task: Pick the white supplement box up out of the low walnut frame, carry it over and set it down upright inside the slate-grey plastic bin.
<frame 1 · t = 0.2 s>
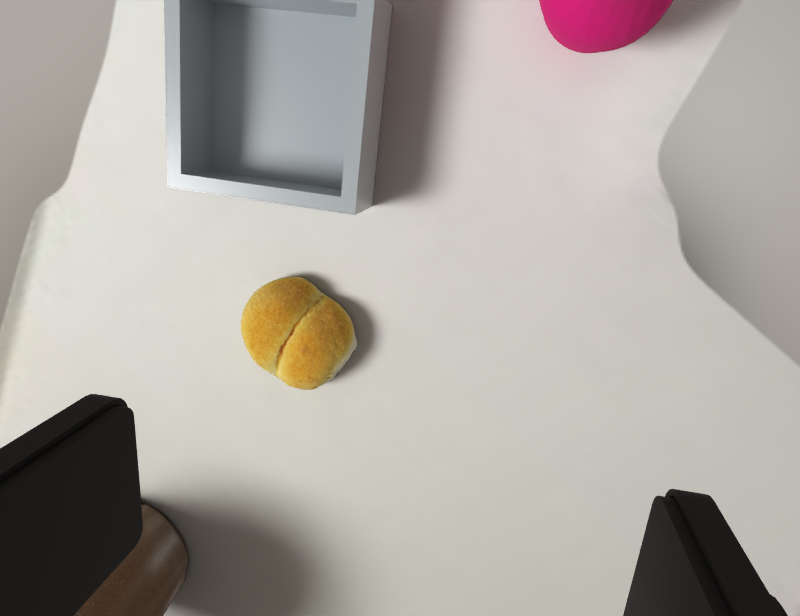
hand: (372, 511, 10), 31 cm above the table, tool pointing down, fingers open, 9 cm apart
plant pot: (133, 546, 54), on the table
grey bin: (291, 100, 38), on the table
bread roll: (306, 328, 44), on the table
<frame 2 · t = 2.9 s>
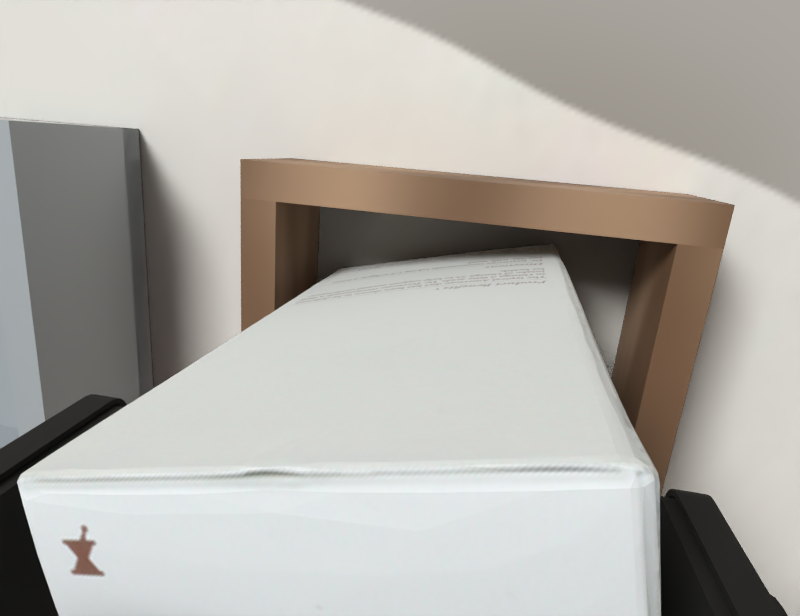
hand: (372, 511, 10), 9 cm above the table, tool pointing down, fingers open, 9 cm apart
supplement box: (458, 358, 18), resting in walnut frame
walnut frame: (456, 357, 18), on the table
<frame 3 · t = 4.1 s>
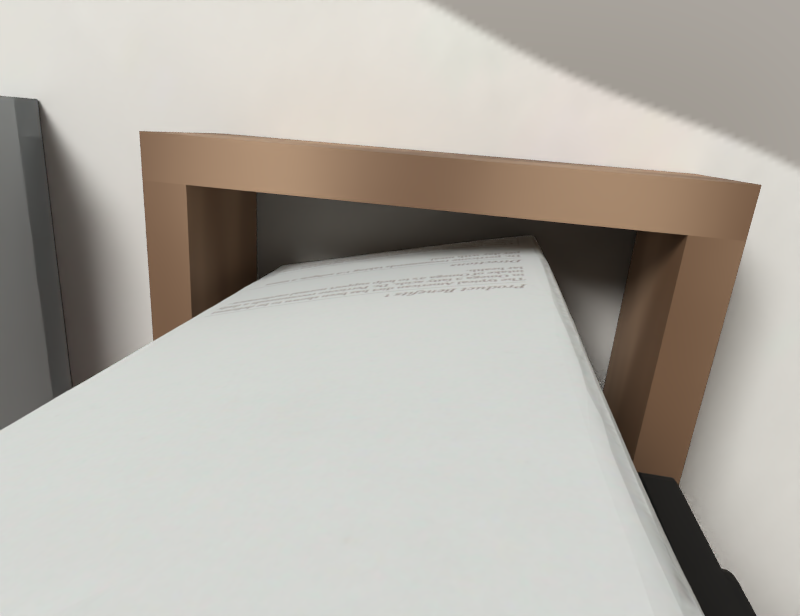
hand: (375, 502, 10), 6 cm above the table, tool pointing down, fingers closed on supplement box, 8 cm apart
supplement box: (424, 369, 16), resting in walnut frame, touching gripper
walnut frame: (421, 369, 16), on the table
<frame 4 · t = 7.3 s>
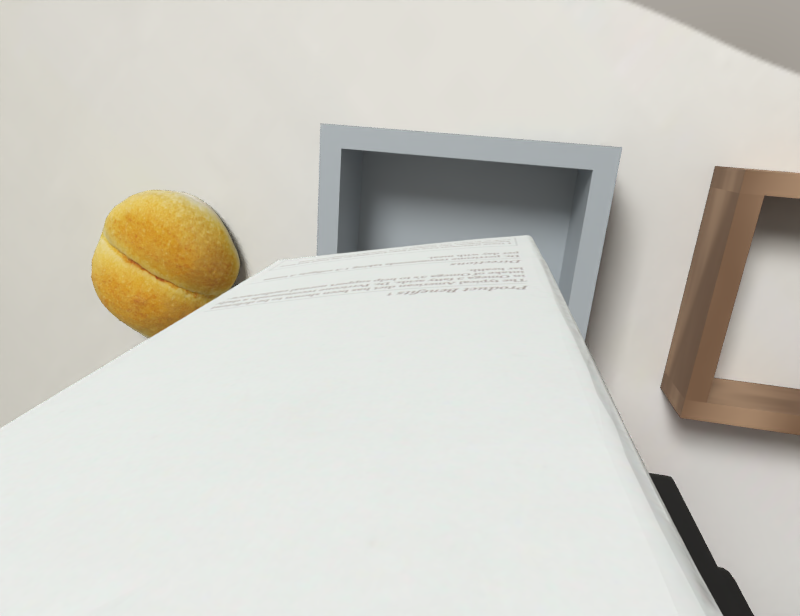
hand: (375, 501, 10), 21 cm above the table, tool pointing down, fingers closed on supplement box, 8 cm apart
grey bin: (457, 258, 30), on the table
bread roll: (179, 262, 34), on the table
supplement box: (418, 365, 16), point 15 cm above the table, touching gripper
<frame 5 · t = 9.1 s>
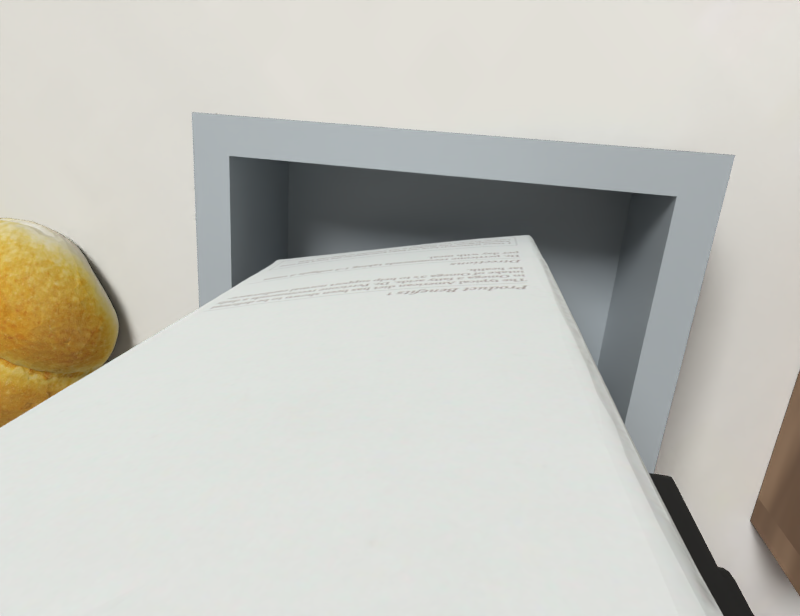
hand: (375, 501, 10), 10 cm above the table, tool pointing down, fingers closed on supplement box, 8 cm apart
grey bin: (439, 322, 20), on the table
bread roll: (39, 319, 23), on the table
supplement box: (418, 365, 16), point 4 cm above the table, touching gripper
when the fingers open (9 cm above the table, at t = 10.6 s): supplement box drops 2 cm, resting on grey bin.
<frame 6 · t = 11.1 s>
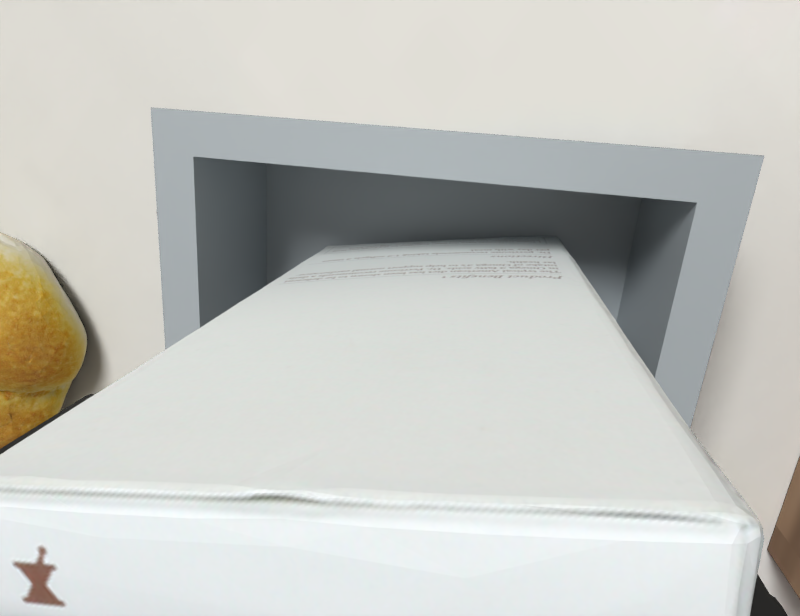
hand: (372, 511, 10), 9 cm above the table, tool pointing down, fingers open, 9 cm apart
grey bin: (431, 336, 18), on the table
bread roll: (4, 333, 22), on the table
supplement box: (447, 348, 18), point 1 cm above the table, touching grey bin, gripper
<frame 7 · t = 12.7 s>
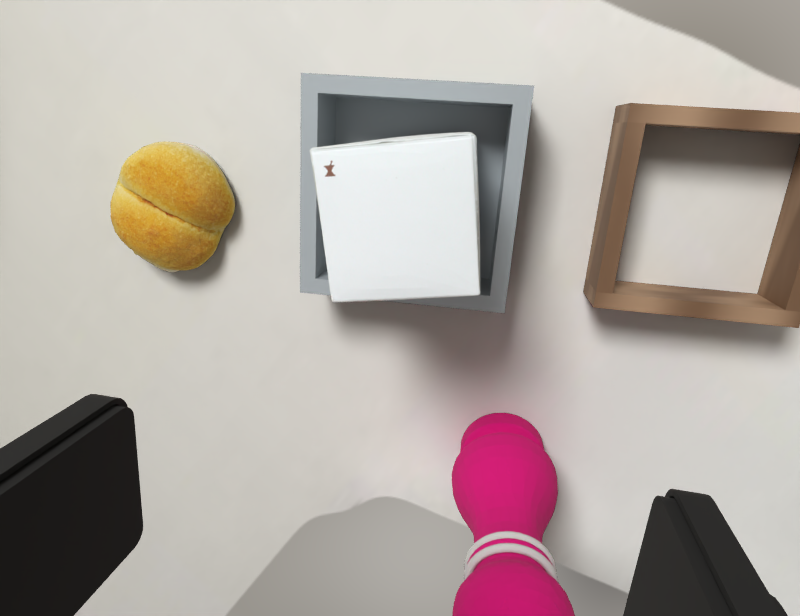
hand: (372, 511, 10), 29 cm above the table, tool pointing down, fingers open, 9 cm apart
grey bin: (416, 189, 37), on the table
bread roll: (183, 206, 40), on the table
supplement box: (423, 193, 36), point 1 cm above the table, touching grey bin
pepper mill: (501, 446, 42), on the table
walnut frame: (695, 211, 35), on the table
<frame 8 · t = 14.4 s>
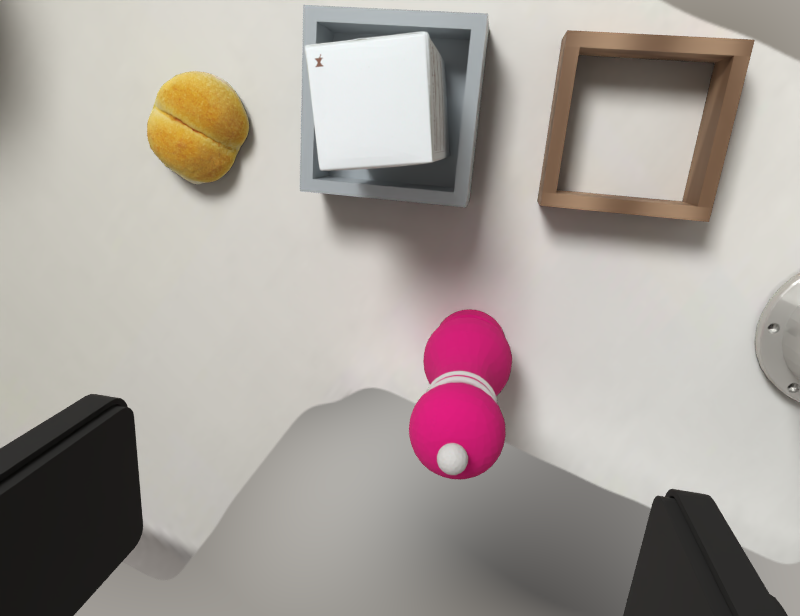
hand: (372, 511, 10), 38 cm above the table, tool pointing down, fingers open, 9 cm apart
grey bin: (398, 112, 44), on the table
bread roll: (206, 129, 48), on the table
supplement box: (404, 114, 44), point 1 cm above the table, touching grey bin
pepper mill: (470, 341, 49), on the table
walnut frame: (628, 129, 42), on the table
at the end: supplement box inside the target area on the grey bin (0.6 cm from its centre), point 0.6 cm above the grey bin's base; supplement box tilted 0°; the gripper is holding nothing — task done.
